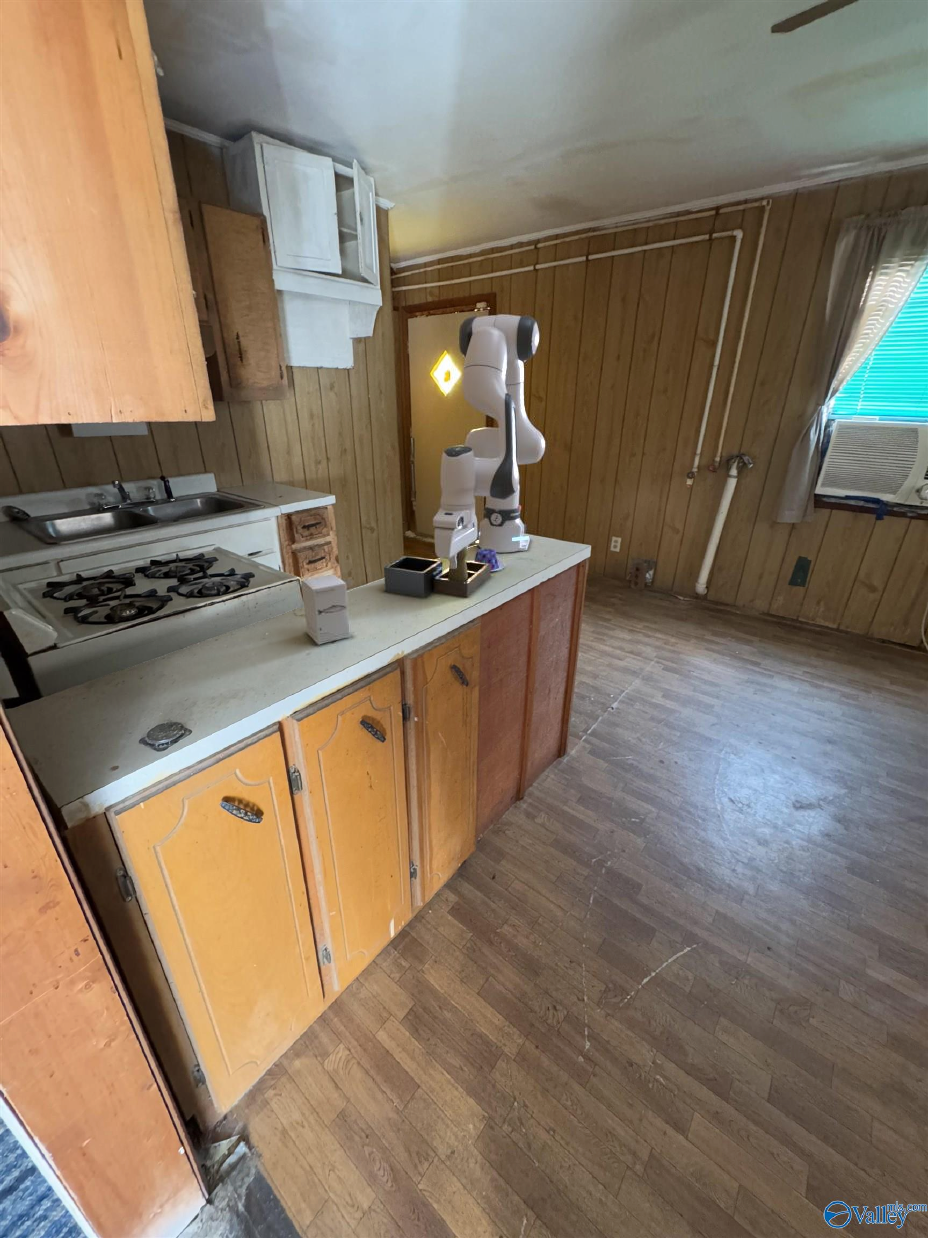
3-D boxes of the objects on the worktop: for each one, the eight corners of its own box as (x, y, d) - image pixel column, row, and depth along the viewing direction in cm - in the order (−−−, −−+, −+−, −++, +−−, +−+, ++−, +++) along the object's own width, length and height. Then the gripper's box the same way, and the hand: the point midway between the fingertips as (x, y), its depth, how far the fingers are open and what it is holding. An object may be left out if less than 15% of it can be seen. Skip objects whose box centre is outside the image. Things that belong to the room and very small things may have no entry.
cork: (470, 581, 139) (470, 542, 134) (468, 589, 134) (468, 549, 129) (448, 580, 140) (448, 541, 135) (445, 588, 134) (445, 548, 130)
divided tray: (460, 572, 149) (460, 559, 148) (490, 576, 146) (490, 563, 144) (434, 592, 134) (433, 578, 133) (467, 597, 131) (467, 583, 129)
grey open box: (405, 578, 144) (405, 555, 141) (442, 584, 140) (442, 560, 137) (385, 591, 134) (383, 567, 132) (424, 598, 130) (423, 573, 128)
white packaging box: (318, 646, 105) (311, 589, 100) (306, 633, 110) (299, 578, 105) (351, 637, 109) (346, 582, 103) (339, 625, 114) (333, 572, 109)
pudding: (458, 566, 155) (458, 550, 153) (486, 559, 162) (486, 543, 160) (485, 576, 147) (486, 559, 144) (513, 567, 154) (514, 551, 152)
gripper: (462, 504, 138) (461, 552, 144) (429, 521, 121) (430, 575, 127) (483, 506, 136) (482, 555, 142) (453, 523, 119) (453, 578, 125)
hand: (457, 565), depth 134 cm, fingers closed on cork, 4 cm apart
